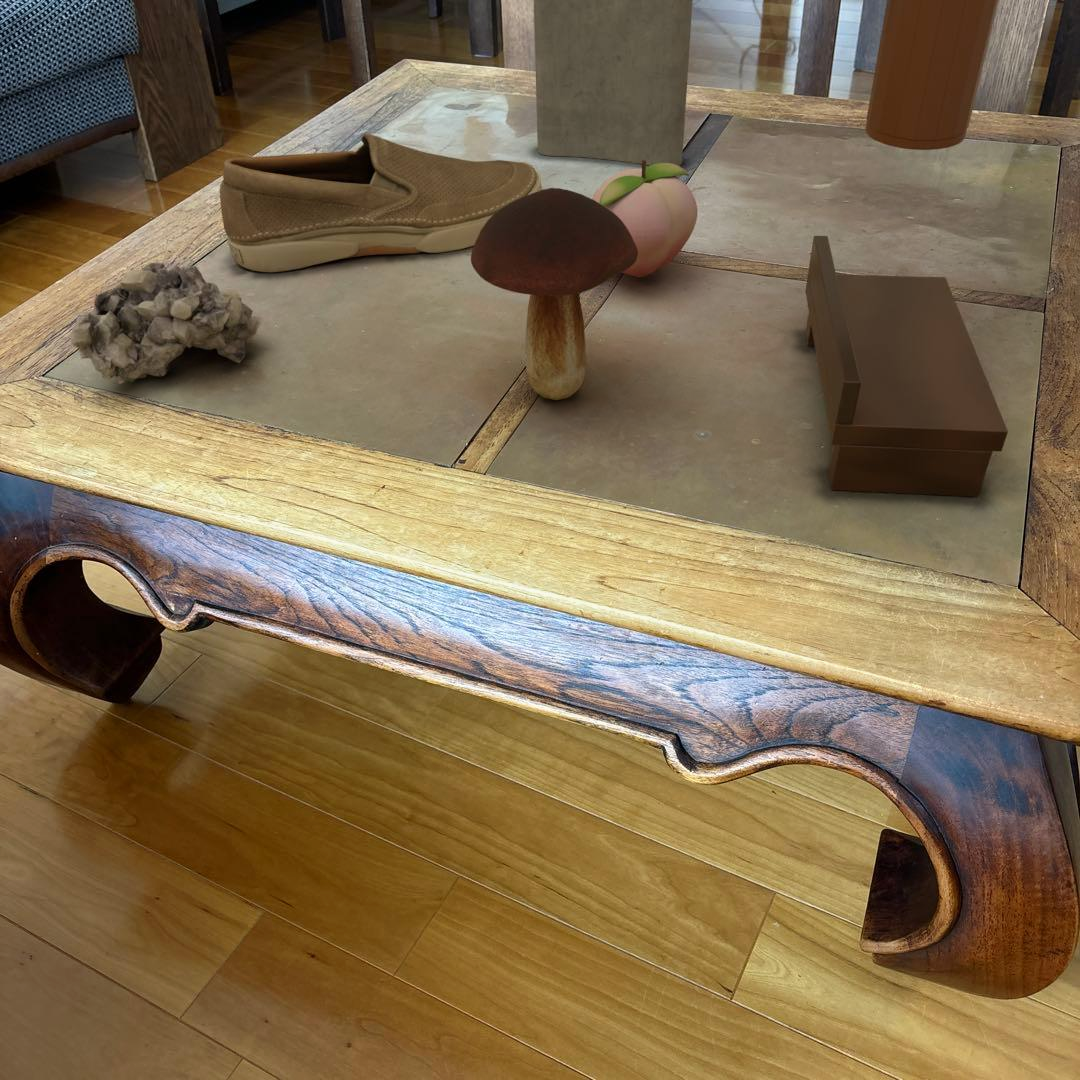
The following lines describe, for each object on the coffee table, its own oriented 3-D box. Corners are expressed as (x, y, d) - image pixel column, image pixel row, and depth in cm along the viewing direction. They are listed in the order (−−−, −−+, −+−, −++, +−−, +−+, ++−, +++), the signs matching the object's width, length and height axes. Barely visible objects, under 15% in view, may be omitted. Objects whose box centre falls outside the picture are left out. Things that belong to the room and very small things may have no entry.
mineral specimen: (59, 373, 71) (97, 232, 69) (74, 353, 79) (108, 227, 77) (235, 426, 75) (276, 296, 73) (232, 402, 84) (268, 284, 82)
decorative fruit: (634, 244, 93) (638, 131, 86) (708, 270, 88) (717, 154, 82) (564, 280, 88) (562, 163, 81) (638, 310, 83) (642, 189, 77)
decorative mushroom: (531, 455, 68) (523, 242, 59) (453, 382, 76) (435, 182, 66) (662, 404, 73) (675, 198, 63) (577, 340, 80) (576, 146, 70)
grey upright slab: (533, 154, 110) (527, -58, 97) (546, 141, 113) (541, -66, 100) (677, 169, 106) (691, -50, 93) (687, 155, 109) (701, -59, 96)
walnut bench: (930, 336, 79) (955, 238, 74) (986, 497, 64) (1022, 388, 59) (798, 332, 80) (813, 235, 75) (822, 489, 65) (844, 381, 60)
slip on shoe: (528, 190, 102) (524, 97, 97) (561, 235, 94) (559, 137, 88) (228, 233, 97) (205, 137, 91) (235, 285, 88) (211, 183, 83)
